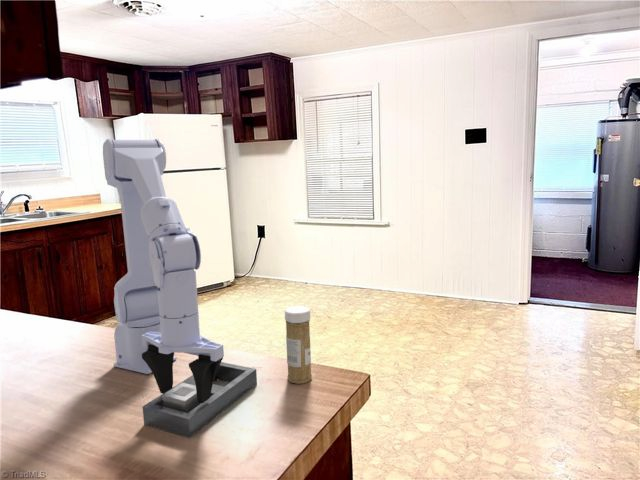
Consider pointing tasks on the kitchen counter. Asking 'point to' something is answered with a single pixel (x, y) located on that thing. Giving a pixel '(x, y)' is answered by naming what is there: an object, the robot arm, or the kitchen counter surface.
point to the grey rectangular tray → (205, 412)
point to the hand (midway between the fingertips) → (185, 395)
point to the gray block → (181, 398)
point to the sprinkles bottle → (298, 344)
